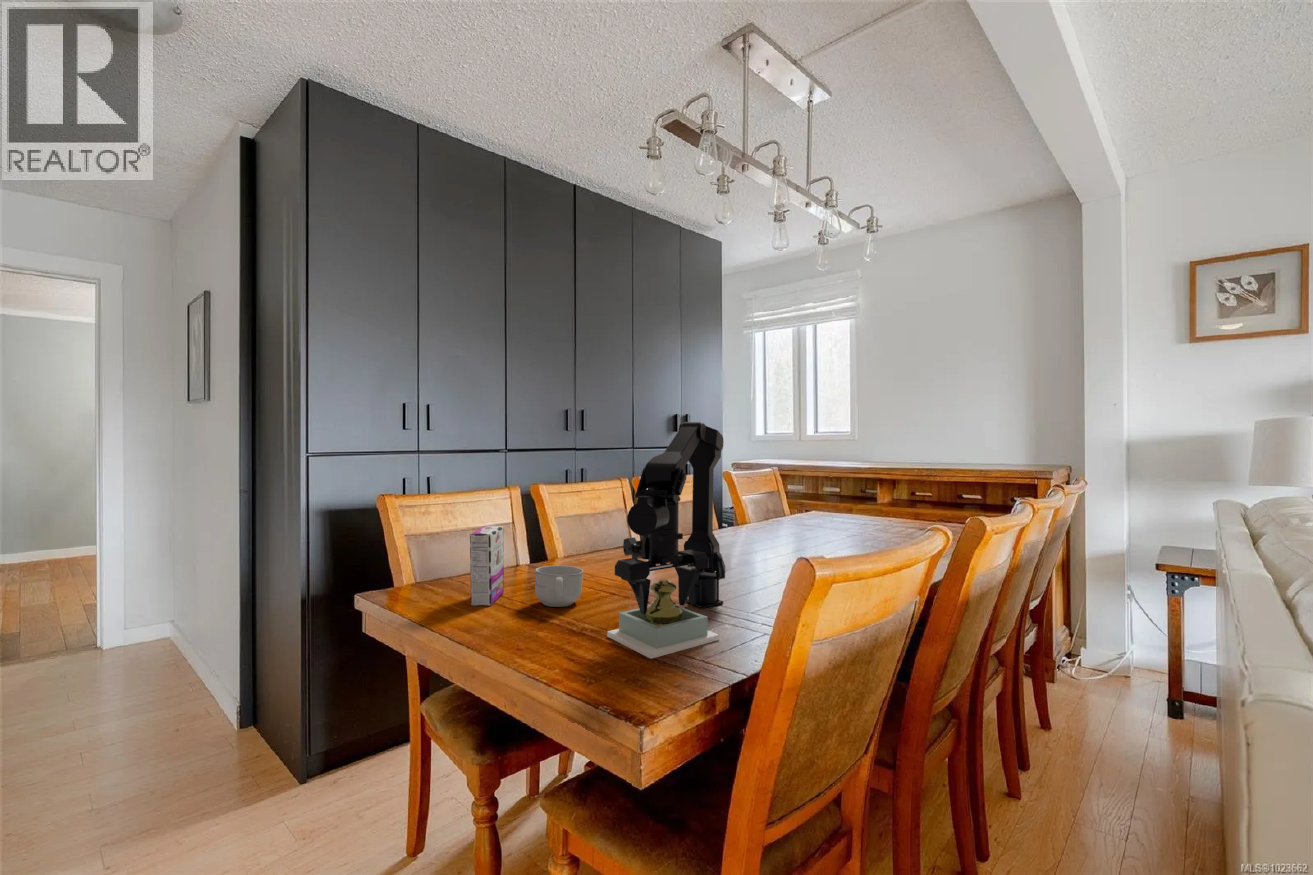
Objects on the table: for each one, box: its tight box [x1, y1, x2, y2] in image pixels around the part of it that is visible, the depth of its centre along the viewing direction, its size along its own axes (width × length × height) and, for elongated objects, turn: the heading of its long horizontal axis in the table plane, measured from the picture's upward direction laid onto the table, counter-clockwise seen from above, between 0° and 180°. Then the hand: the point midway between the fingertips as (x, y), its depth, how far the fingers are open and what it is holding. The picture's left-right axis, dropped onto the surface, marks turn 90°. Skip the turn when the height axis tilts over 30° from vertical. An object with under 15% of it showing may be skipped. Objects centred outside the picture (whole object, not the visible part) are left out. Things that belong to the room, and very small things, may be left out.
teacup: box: [534, 564, 584, 608], centre depth 135 cm, size 14×11×8 cm
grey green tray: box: [607, 605, 720, 659], centre depth 114 cm, size 16×14×4 cm
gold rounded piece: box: [644, 579, 683, 626], centre depth 114 cm, size 7×7×10 cm
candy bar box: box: [469, 525, 505, 607], centre depth 140 cm, size 11×5×16 cm, turn 179°
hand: (662, 609), depth 114 cm, fingers open, 9 cm apart
